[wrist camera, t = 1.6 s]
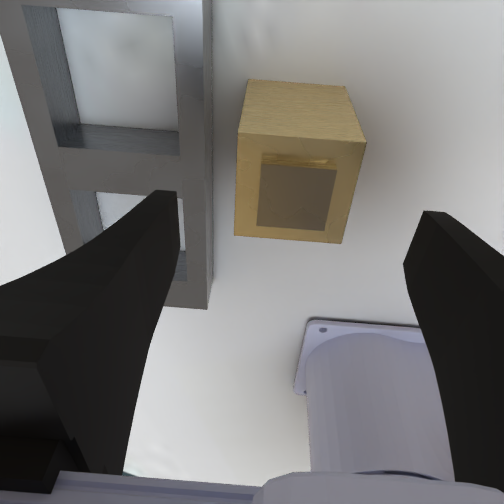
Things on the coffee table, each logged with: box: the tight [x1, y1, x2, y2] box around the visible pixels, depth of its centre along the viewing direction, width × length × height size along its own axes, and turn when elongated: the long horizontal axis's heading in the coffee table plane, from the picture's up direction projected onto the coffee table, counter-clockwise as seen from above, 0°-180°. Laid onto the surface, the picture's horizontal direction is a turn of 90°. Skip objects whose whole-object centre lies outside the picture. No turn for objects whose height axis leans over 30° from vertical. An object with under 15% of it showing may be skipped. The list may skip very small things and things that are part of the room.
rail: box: [0, 0, 213, 310], centre depth 18 cm, size 7×16×2 cm, turn 177°
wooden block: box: [234, 79, 367, 244], centre depth 16 cm, size 4×4×6 cm
